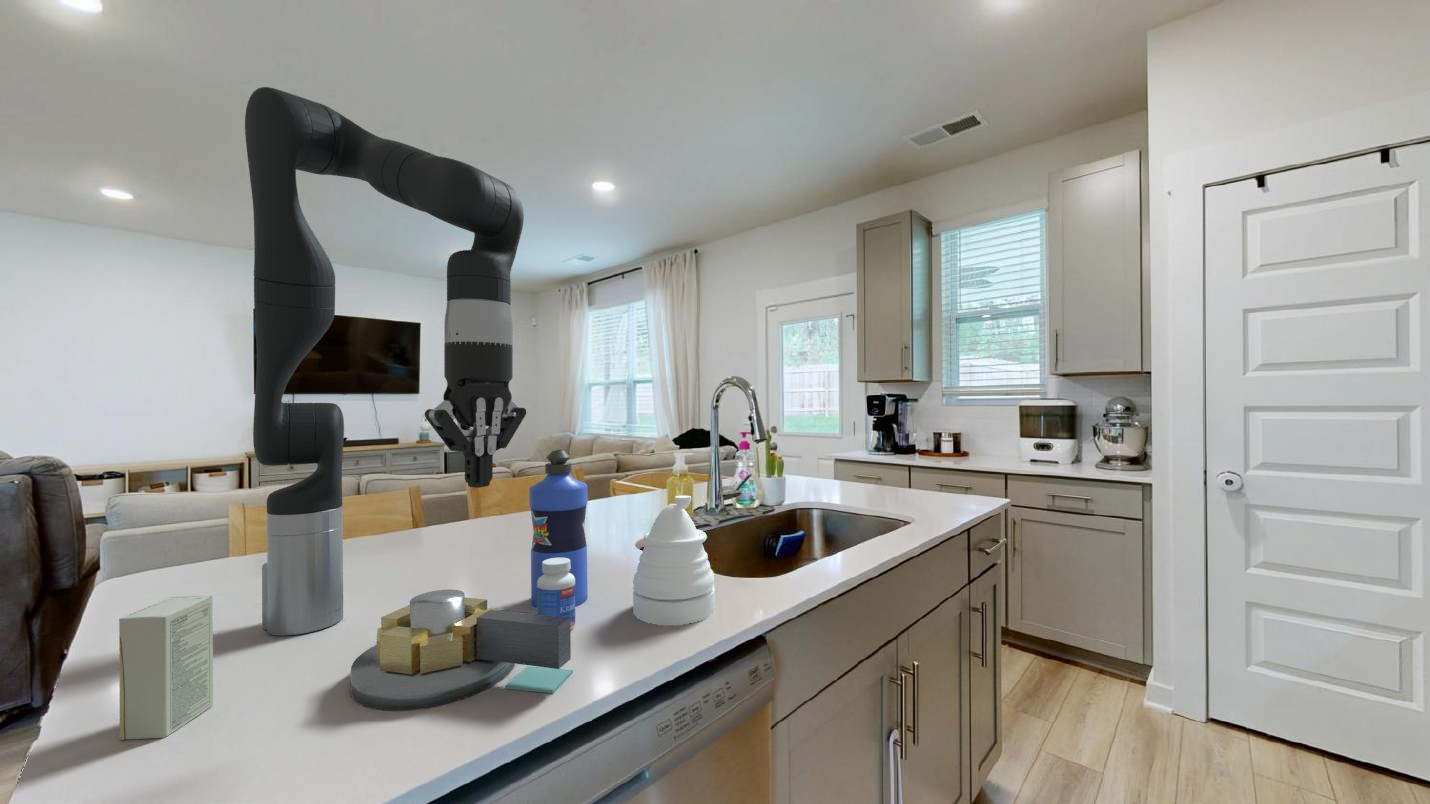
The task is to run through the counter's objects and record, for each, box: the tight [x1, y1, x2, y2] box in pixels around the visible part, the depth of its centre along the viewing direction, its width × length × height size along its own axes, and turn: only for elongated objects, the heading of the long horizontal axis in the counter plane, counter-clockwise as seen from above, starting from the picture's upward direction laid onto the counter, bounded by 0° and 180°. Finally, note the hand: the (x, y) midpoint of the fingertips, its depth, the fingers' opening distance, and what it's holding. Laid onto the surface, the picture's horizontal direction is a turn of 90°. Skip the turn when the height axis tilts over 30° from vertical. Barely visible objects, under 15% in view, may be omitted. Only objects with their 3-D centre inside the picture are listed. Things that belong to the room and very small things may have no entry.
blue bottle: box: [528, 449, 589, 609], centre depth 94 cm, size 9×9×25 cm
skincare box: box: [118, 595, 214, 741], centre depth 58 cm, size 6×4×12 cm
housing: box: [350, 589, 516, 712], centre depth 69 cm, size 18×18×9 cm
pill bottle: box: [536, 558, 576, 631], centre depth 82 cm, size 6×5×10 cm
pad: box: [504, 665, 574, 694], centre depth 67 cm, size 6×5×1 cm
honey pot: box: [632, 494, 716, 626], centre depth 89 cm, size 13×13×18 cm
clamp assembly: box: [376, 596, 572, 674], centre depth 68 cm, size 24×13×5 cm, turn 74°
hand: (479, 486), depth 68 cm, fingers closed
